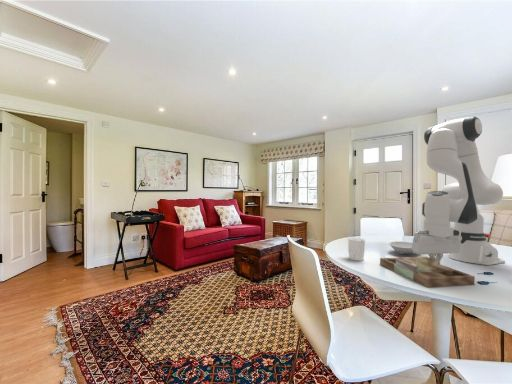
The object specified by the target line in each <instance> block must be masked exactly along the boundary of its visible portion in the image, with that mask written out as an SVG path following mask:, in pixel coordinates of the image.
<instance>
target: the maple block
mask: <svg viewBox="0 0 512 384" xmlns="http://www.w3.org/2000/svg"><path fill="white" fill-rule="evenodd" d="M415 257H416V266H418V267H419V268H421V269H424V270H437V260H436V259H433V258H430V257H429V256H426V255H425V256H415Z"/></svg>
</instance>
